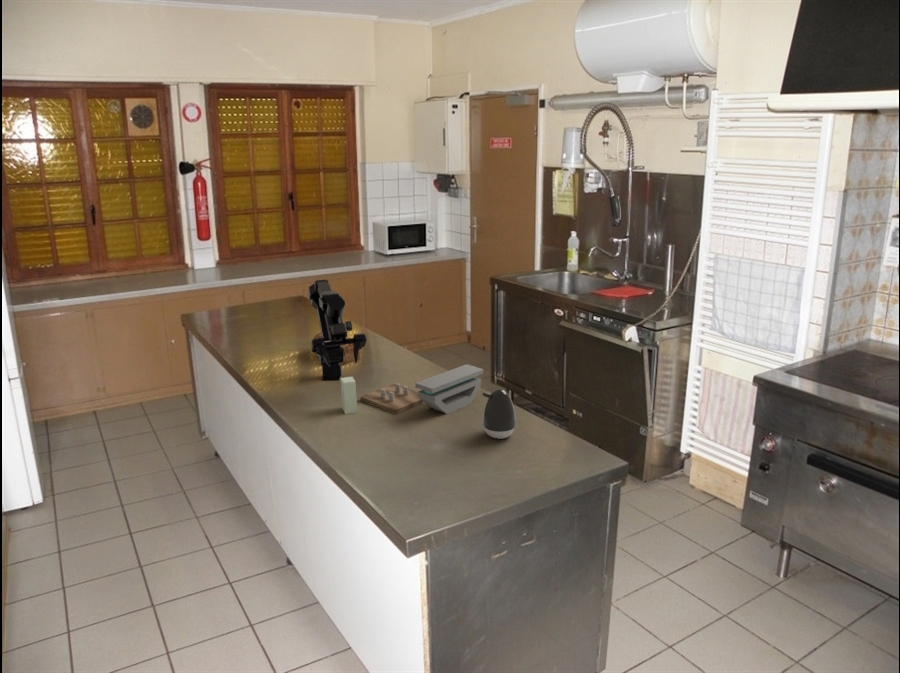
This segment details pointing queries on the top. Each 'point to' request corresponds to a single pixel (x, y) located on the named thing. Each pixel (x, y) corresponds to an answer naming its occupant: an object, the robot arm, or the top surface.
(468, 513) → the top surface
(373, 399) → the tan board with pegs
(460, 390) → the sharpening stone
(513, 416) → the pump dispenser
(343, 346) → the bread
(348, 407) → the pale panelled upright block
